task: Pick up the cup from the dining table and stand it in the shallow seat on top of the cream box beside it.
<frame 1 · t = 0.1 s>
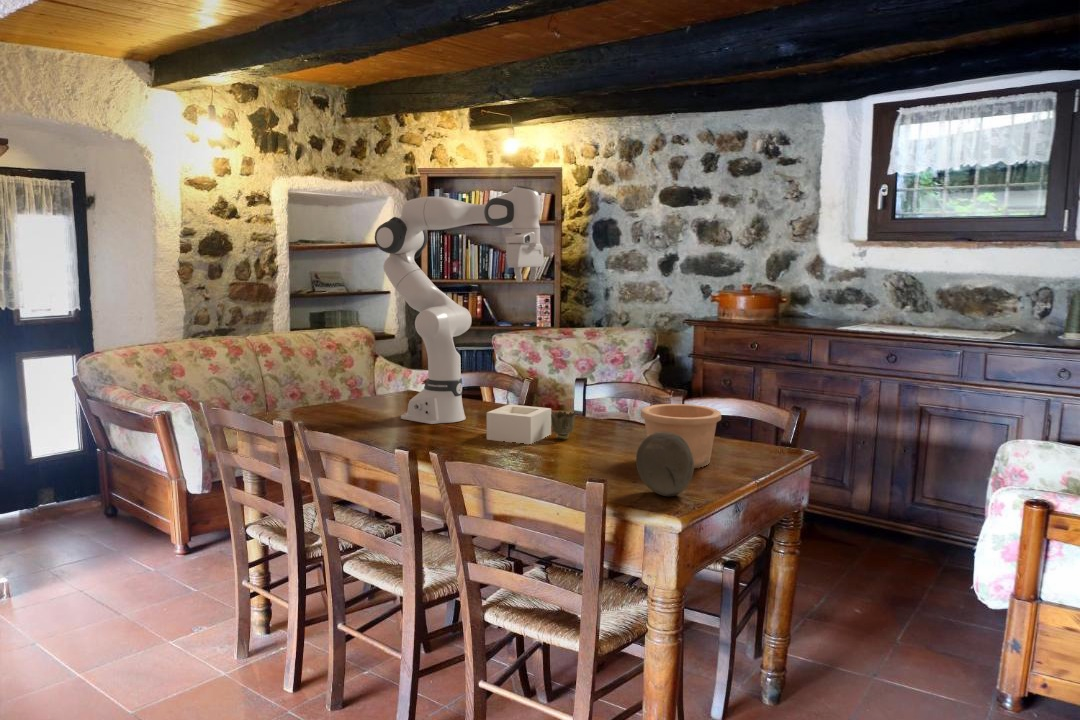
hand: (525, 281, 264), 48 cm above the table, tool pointing down, fingers open, 8 cm apart
cream box: (519, 437, 257), on the table
dark round stone: (663, 495, 198), on the table
cup: (562, 439, 255), on the table
pottery: (679, 462, 229), on the table
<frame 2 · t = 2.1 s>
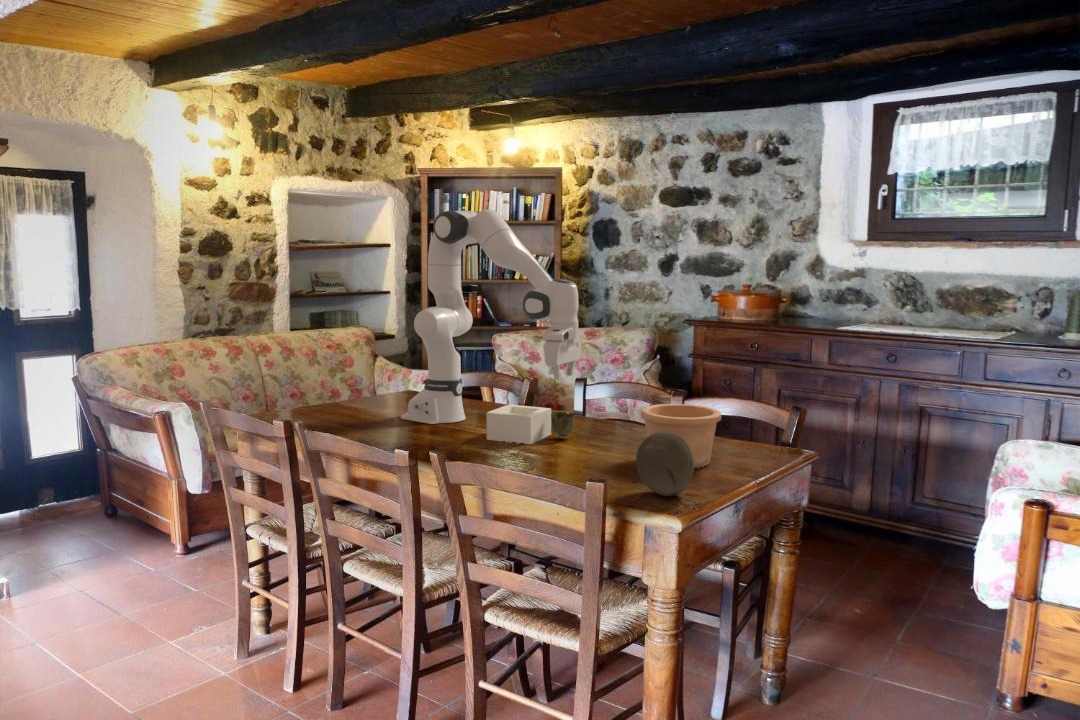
hand: (563, 377, 253), 19 cm above the table, tool pointing down, fingers open, 8 cm apart
nothing on the table moved.
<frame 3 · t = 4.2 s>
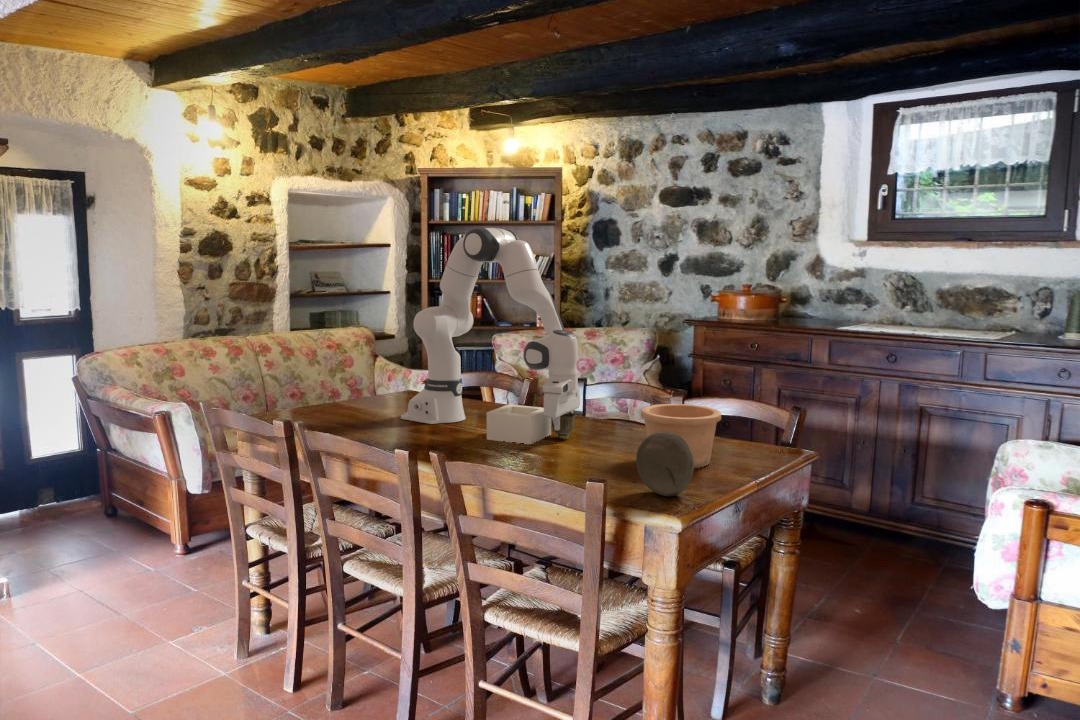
hand: (562, 427, 255), 4 cm above the table, tool pointing down, fingers closed on cup, 6 cm apart
cup: (562, 439, 255), on the table, touching gripper
everything else where it was.
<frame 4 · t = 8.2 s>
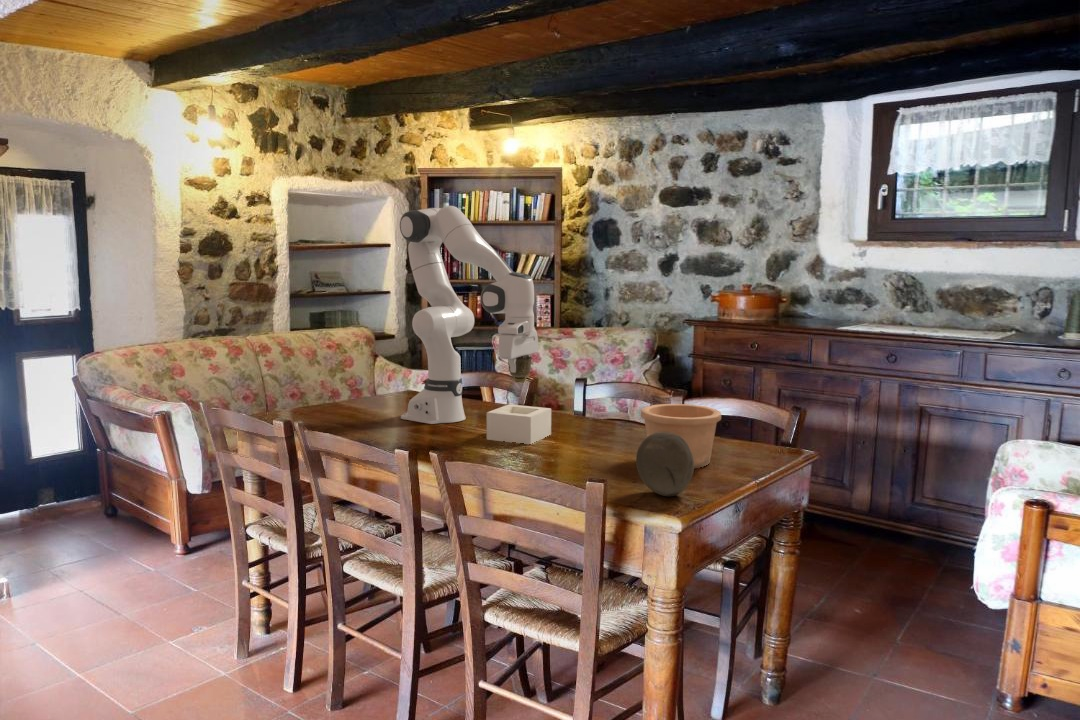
hand: (519, 370, 254), 21 cm above the table, tool pointing down, fingers closed on cup, 6 cm apart
cup: (519, 382, 255), point 17 cm above the table, touching gripper
everything else where it was.
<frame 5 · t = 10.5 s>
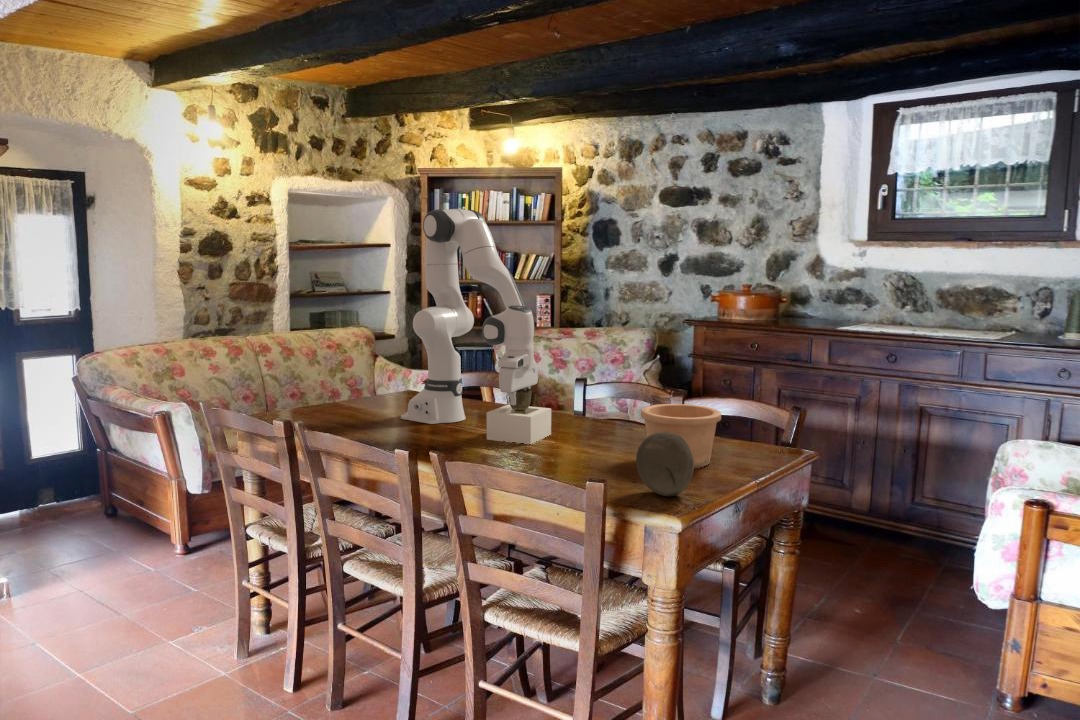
hand: (519, 402, 256), 11 cm above the table, tool pointing down, fingers closed on cup, 6 cm apart
cup: (519, 415, 256), point 7 cm above the table, touching gripper
everything else where it was.
when the fingers open (10 cm above the table, at t = 12.3 s): cup stays where it is, resting on cream box.
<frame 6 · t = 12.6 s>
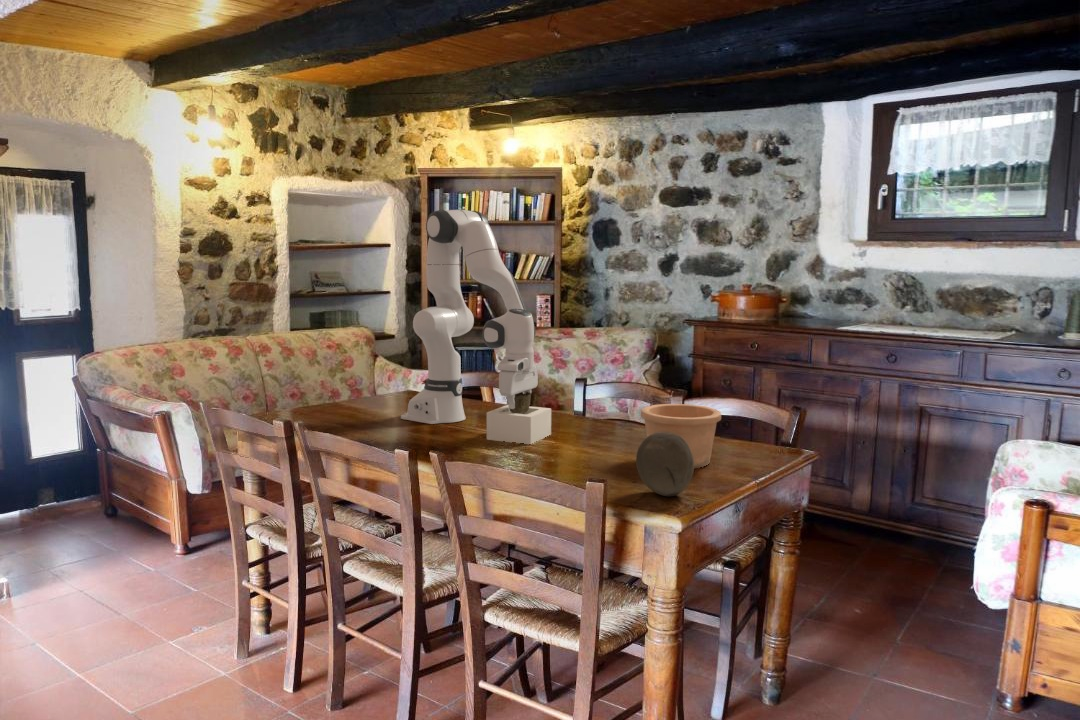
hand: (519, 406, 256), 10 cm above the table, tool pointing down, fingers open, 8 cm apart
cup: (519, 418, 256), point 6 cm above the table, touching cream box
everything else where it was.
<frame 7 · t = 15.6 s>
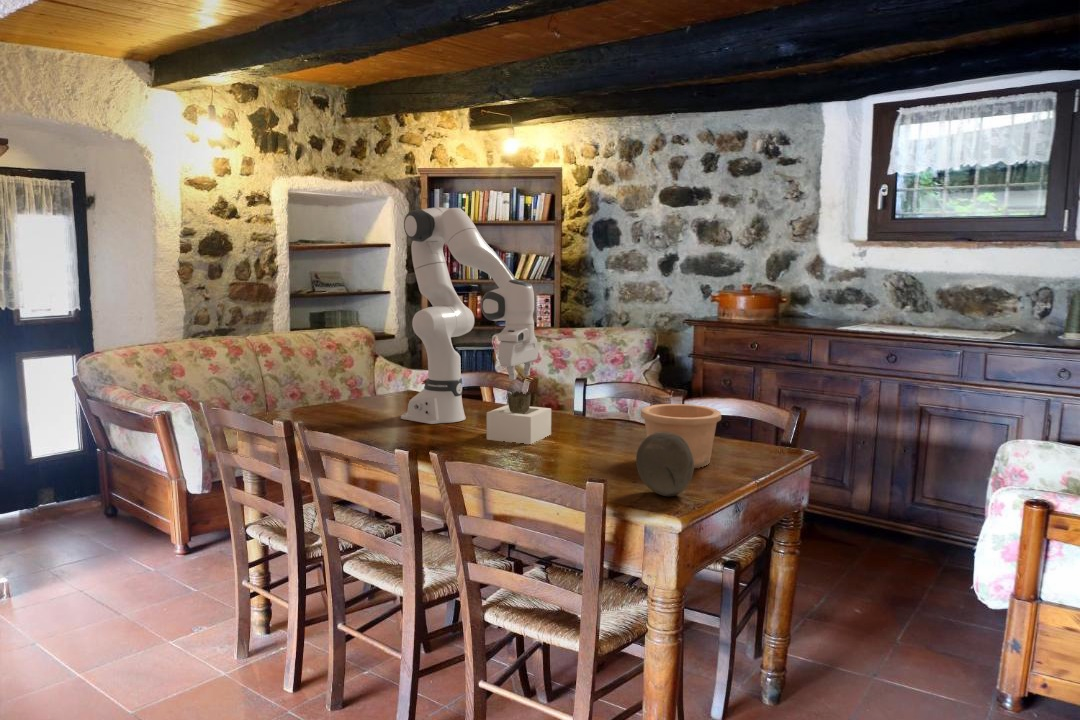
hand: (519, 377, 255), 19 cm above the table, tool pointing down, fingers open, 8 cm apart
nothing on the table moved.
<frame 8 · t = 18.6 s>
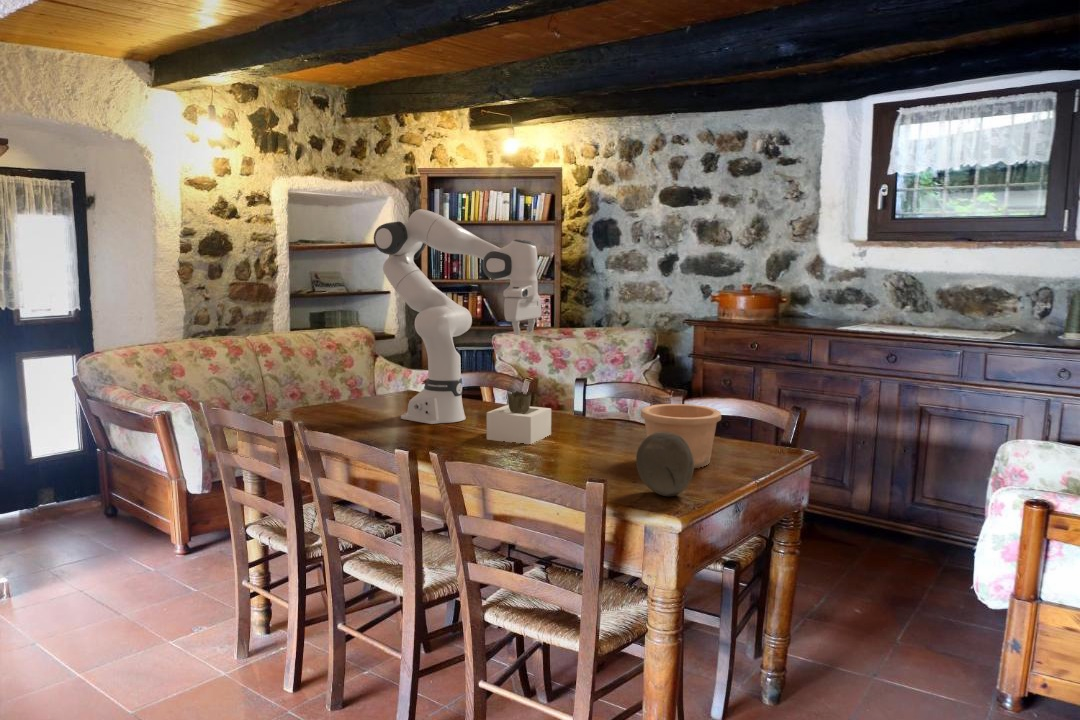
hand: (523, 333, 267), 31 cm above the table, tool pointing down, fingers open, 8 cm apart
nothing on the table moved.
at the end: cup 0.1 cm off-centre on the cream box, point 5.8 cm above the cream box's base; cup tilted 0°; the gripper is holding nothing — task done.
